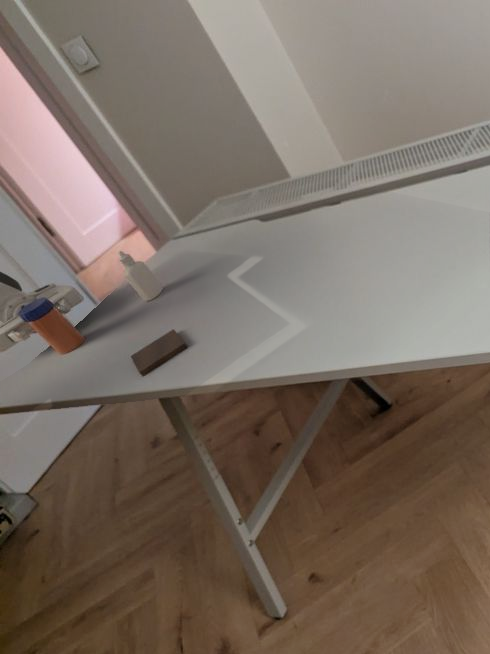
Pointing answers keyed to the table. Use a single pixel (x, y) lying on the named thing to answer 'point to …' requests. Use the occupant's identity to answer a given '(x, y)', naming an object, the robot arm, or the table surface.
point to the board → (158, 352)
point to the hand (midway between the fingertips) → (45, 322)
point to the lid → (35, 309)
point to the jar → (57, 331)
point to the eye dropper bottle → (140, 277)
